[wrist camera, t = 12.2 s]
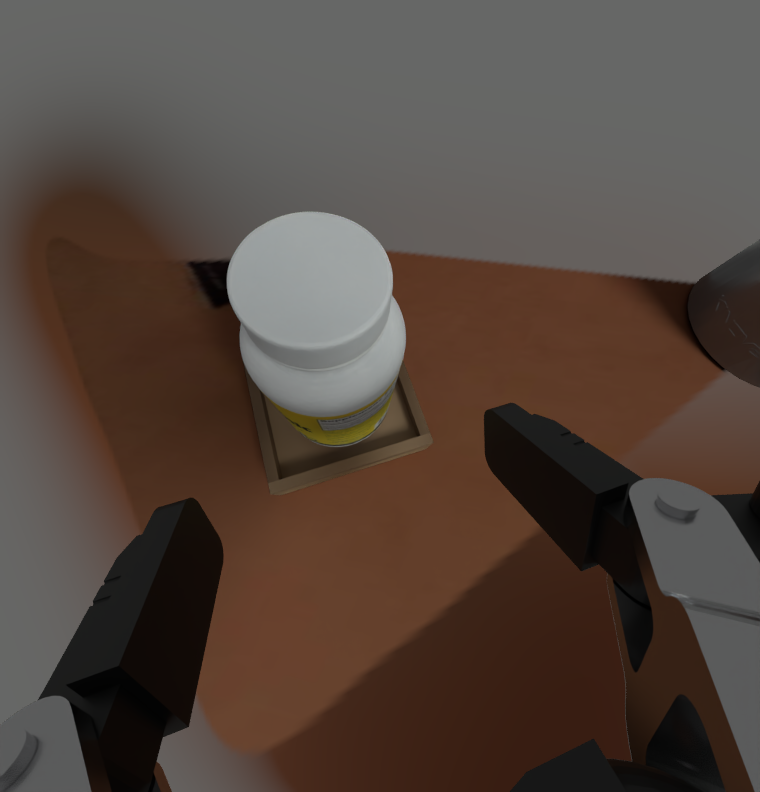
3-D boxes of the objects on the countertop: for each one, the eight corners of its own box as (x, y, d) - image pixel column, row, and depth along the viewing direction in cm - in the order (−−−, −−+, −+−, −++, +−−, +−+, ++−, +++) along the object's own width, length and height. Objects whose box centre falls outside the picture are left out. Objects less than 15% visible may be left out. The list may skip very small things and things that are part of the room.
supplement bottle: (272, 372, 17) (171, 217, 8) (365, 340, 18) (373, 167, 9) (306, 467, 16) (228, 413, 6) (405, 426, 17) (464, 327, 7)
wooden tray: (381, 326, 20) (383, 307, 18) (425, 449, 17) (433, 442, 16) (251, 359, 19) (239, 342, 17) (281, 495, 16) (270, 494, 14)
